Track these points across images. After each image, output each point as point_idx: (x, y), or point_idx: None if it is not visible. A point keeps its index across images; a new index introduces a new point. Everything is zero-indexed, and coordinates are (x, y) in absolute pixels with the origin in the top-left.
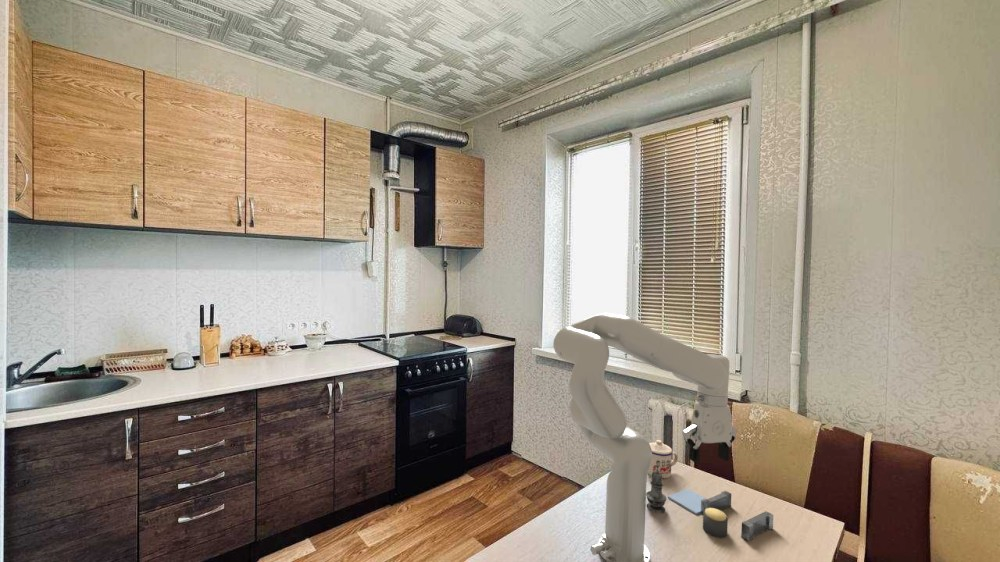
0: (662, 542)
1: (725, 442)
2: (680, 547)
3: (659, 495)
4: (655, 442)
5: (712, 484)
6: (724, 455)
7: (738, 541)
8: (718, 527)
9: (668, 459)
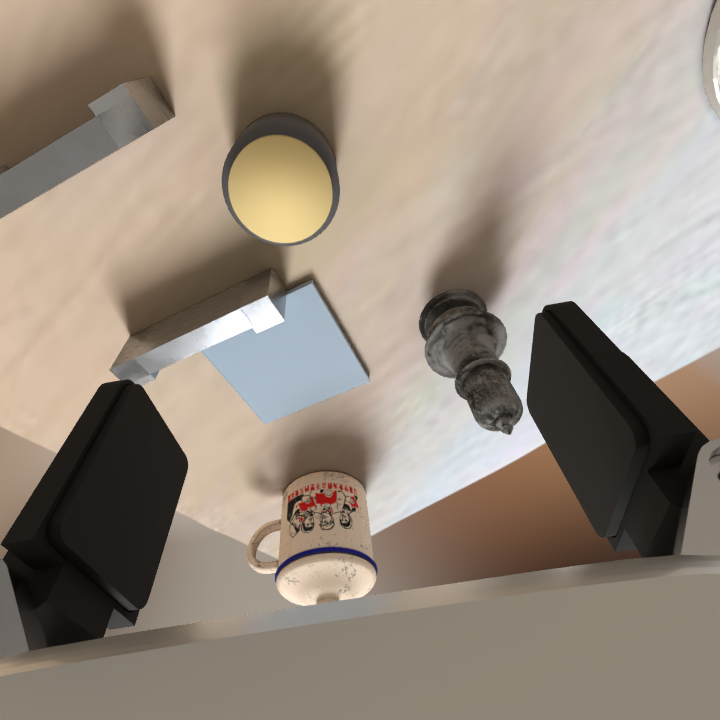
0: (583, 85)
1: (36, 638)
2: (526, 40)
3: (472, 337)
4: None
5: None
6: (133, 440)
7: (205, 81)
8: (295, 123)
9: (305, 535)
